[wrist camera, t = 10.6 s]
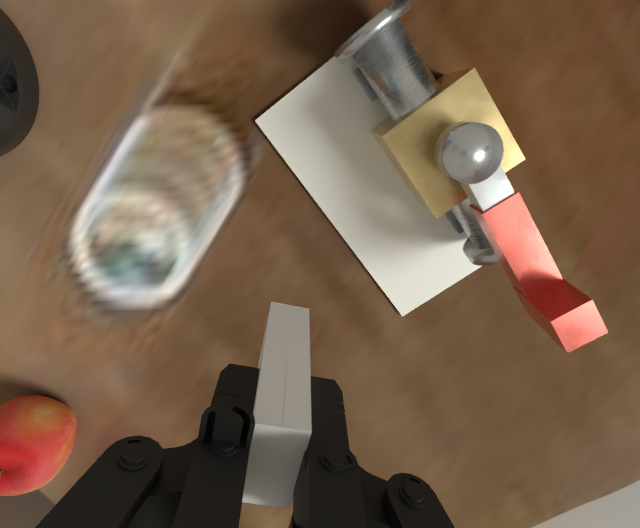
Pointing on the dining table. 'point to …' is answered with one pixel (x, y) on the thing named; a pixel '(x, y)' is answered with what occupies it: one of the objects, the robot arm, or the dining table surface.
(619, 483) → the dining table surface
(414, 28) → the dining table surface
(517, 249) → the lever
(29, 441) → the apple
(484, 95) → the valve
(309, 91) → the board
